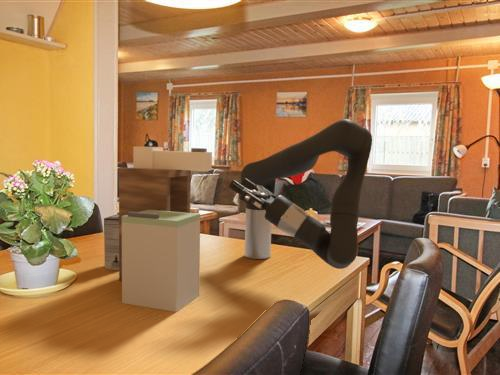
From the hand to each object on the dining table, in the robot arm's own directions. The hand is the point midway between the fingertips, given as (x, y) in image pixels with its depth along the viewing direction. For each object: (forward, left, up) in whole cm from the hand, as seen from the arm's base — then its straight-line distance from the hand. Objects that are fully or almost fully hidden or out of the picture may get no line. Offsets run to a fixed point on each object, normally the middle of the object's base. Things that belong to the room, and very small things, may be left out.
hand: (236, 182), depth 116 cm
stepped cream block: (0, -19, +3) cm, 20 cm away
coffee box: (-6, -41, -30) cm, 51 cm away
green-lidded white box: (+15, -14, -29) cm, 36 cm away
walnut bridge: (0, -25, -29) cm, 38 cm away
